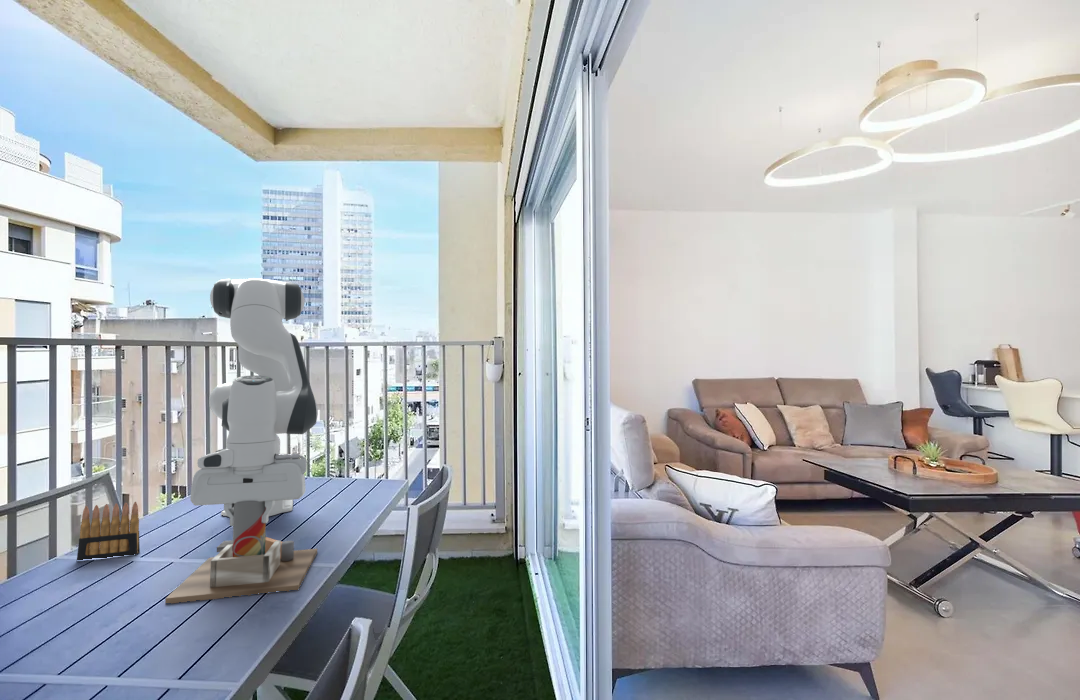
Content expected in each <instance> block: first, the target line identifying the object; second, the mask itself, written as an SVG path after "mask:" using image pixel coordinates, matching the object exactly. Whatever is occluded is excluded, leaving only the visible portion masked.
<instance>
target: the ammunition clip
mask: <svg viewBox="0 0 1080 700" xmlns="http://www.w3.org/2000/svg"><path fill="white" fill-rule="evenodd" d="M83 508H84V509H83V511H82V516H81V524H80V531H79V538H78V546H77V554H76V555H77V556H76V561H77V560H83V559H92V558H107V557H113V556H124V555H134V554H137V555H138V554H140V549H141V548H140V530H139V529H140V519H139V506H138V503H137V501H134V502H133V505H132V507H131V515H130V511H129V510H130V509H129V505H128V503H127V502H124V504H123V507H122V511H121V517H120V508H119V505H118V503H115V504H114V506H113V509H112V516H111V517H110V515H111V514H110V508H109V505H108V504H107V503H106V504H105V505H104V508H103V510H102V517H101V515H100V514H101V513H100V508H99V506H98V504H95V506H94V508H93V511H92V515H91V516H92V517H91V521H90V510H89V507H88V505H85V506H84V507H83ZM100 518H101V519H100ZM120 518H121V520H120ZM110 519H111V520H110Z"/></svg>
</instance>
